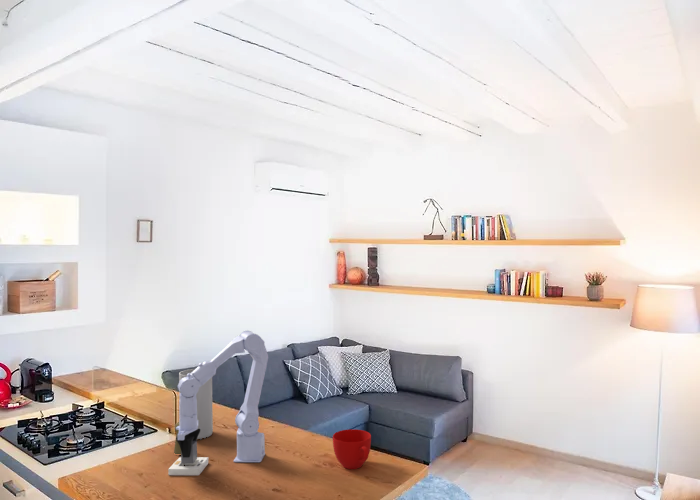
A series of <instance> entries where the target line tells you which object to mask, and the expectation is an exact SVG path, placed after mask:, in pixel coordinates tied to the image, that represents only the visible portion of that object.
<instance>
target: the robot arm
mask: <svg viewBox="0 0 700 500" xmlns="http://www.w3.org/2000/svg"><path fill="white" fill-rule="evenodd" d="M246 351H247V353H248V354H249V355H250V357H251V358H252V363H251V367H250V372H249V377H248V381H247V386H246V390H245V395H244V400H243V403H242V404H241V406H240V407H239V411H238V413H237V414H236V416H235V419H234V422H235V425H236V426H237V427H238V428H237V431H236V456H235V458H234V459H233V463H261V462H262V461H263V459H264V457H265V455H266V450H265V447H266V446H265V445H266V444H265V441H266V440H265V433H264V432H259V431H258V430H259V428H260V423H259V415H260V414H259V403H260V400H261V394H262V389H263V386H264V385H263V384H264V379H265V376H266V375H265V374H266V371H267V368H268V367H267V366H268V361H269V354H268V351H267V347H266V345H265V340H264V339H263V338H262V337H261V336H260V335H259V334H257V333H254V332H253V331H252V330H243V331H242V332H240V334H239V335H237V336H235V337H234V338H233V339H232V340H231V341H230V342H229V343H228V344H227V345H226V346H225V347H224V348H222V349H221V350H220V352H218V354H216V355H215V356H214V357H213V358H212V359H211V360H207V361H206V360H204V361H203V362H199V363H198V365H197V367H195V368H194V369H195V370H194V371H193V372H191V373H188V374H187V376H188V377H184V378H182V379H181V380H180V381H179V380H178V384H177V385H176V386H177V390H178V391H180V392H181V393H180V396H179V398H180V400H179V402H178V405H179V406H178V409H179V411H178V412H179V414H178V415H179V420H178V422H179V426H177V427H176V430H179V433H178V436H177V437H176V436H175V440H176V441H177V442H178V444H179V446H180V448H181V452H182V456H183V457H190V453H191V445H192V441H197V442H198V440H197V438H198V435H199V433H200V429H198V420H197V399H196V394H197V392H198V390H199V387H201V386H202V385H203V384H204V383H206V382H207V381H208V380H209V379H210V378H211V377H212V378H213V377H214V376H216V374H217V369H218V368H219V367H220V366H222V365H223V364H224V363H225V362H226V361H228V360H229V359H230V358H231V357H233V356H234V355H236V354H242V353H243V354H244V353H246ZM200 383H201V384H202V385H201V384H200Z"/></svg>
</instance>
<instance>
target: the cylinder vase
mask: <svg viewBox="0 0 700 500" xmlns="http://www.w3.org/2000/svg"><path fill="white" fill-rule="evenodd" d="M195 369H196V368H191V369H186V370H183V371H180V372H179V373H178V382H179V381H180V380H181V379H182V378H184V377H188V376H187V374H188V373H191V372H193V371H194V370H195ZM200 384H201V383H200ZM201 385H202V384H201ZM178 391H179V390H178ZM178 393H179V396H180V393H181V392H180V391H179V392H178ZM196 399H197V420H198V429H200V433H199V435H198V438H197V439H200V440H203V439H202V438H204V439H206V437H207V438H209V437H210V436H212V434H213V433H214V432H213V431H214V429H213V423H214V422H213V421H214V420H213V417H214V416H213V377H211V378H210V379H209V380H208V381H207V382H206V383H204V384H203V385H202V386H201V387H199V390H198V392H197V394H196ZM179 400H180V398H179Z"/></svg>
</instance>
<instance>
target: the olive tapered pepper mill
mask: <svg viewBox="0 0 700 500" xmlns="http://www.w3.org/2000/svg"><path fill="white" fill-rule="evenodd" d="M177 426H179V421H178V422H176V423H175V424H174V432H175V433H176V434H175V438H176V437H177V436H178V433H179V430H176V427H177ZM173 448H174V449H173V454H174V453H175V454H181V448H180V446H179V444H178V442H177V441H176V439H175V442H174V447H173Z"/></svg>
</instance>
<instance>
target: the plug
mask: <svg viewBox="0 0 700 500" xmlns="http://www.w3.org/2000/svg"><path fill="white" fill-rule="evenodd" d="M197 444H198V440H197V441H192V445H191V453H190V457H183V456H182V452H181V456H180V457H181V463H194V462H195V461H196V459H197V457H198V445H197Z"/></svg>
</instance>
